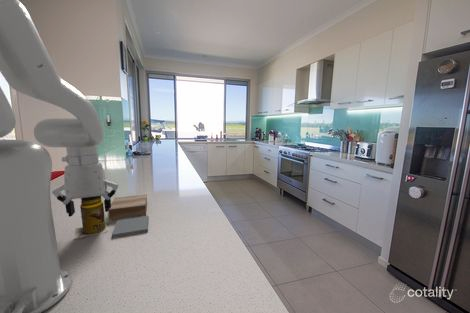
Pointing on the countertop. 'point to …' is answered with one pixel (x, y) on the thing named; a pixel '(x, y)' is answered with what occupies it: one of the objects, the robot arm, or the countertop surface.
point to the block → (128, 207)
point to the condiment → (91, 217)
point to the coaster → (131, 226)
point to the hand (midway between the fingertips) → (90, 212)
